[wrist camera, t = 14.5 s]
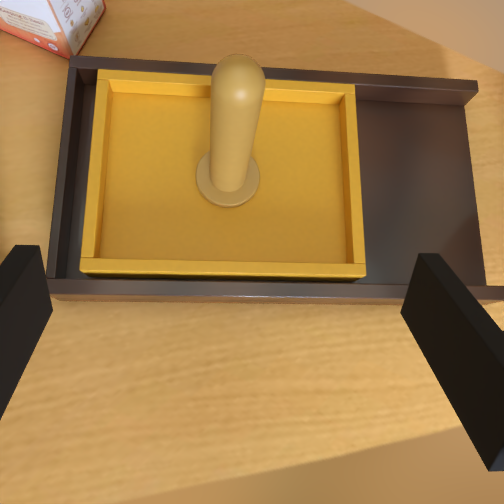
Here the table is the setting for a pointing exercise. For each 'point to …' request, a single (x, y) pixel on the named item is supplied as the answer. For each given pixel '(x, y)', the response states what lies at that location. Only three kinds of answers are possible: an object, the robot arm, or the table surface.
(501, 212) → the table surface
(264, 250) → the tray
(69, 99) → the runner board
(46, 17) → the cracker box
